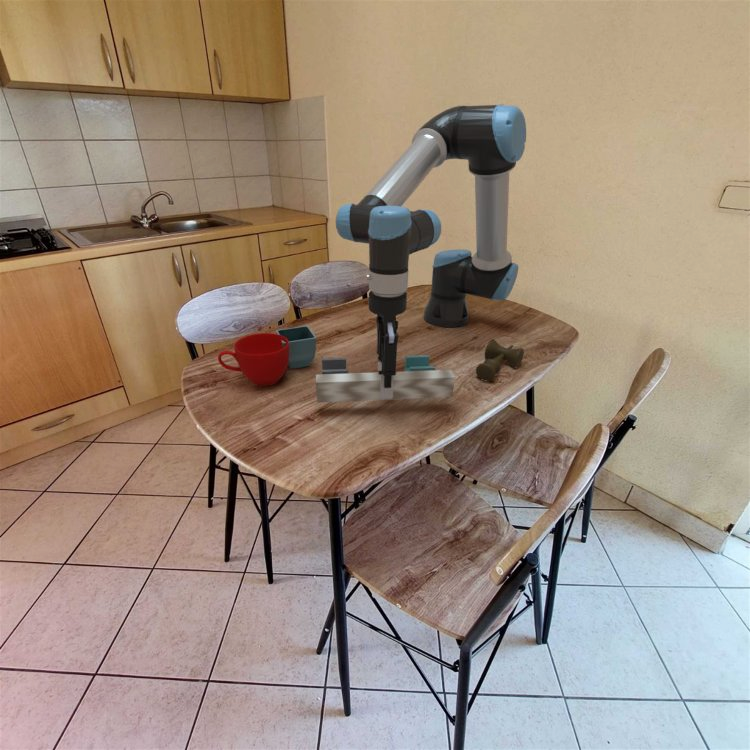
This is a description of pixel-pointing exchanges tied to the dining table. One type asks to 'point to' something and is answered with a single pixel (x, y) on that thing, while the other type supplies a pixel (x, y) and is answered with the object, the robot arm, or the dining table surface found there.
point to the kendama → (498, 359)
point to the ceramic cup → (260, 357)
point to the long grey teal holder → (410, 365)
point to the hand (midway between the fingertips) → (385, 392)
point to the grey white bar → (369, 386)
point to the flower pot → (299, 345)
